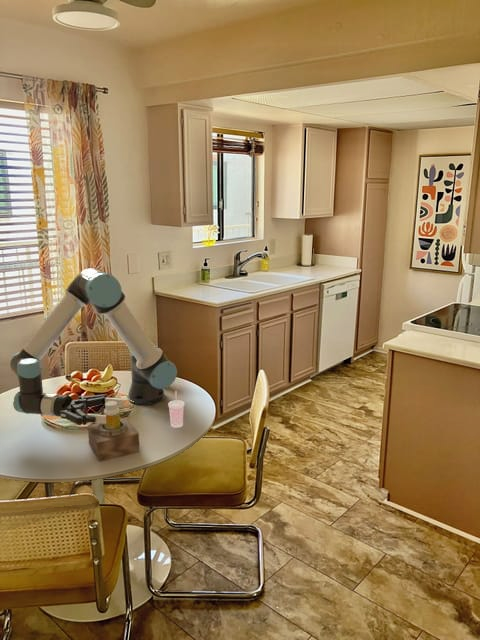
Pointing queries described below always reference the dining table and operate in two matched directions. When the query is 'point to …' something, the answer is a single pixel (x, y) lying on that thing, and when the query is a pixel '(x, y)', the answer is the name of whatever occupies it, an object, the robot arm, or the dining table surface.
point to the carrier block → (113, 440)
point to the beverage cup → (176, 412)
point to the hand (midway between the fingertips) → (114, 410)
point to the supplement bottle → (112, 416)
